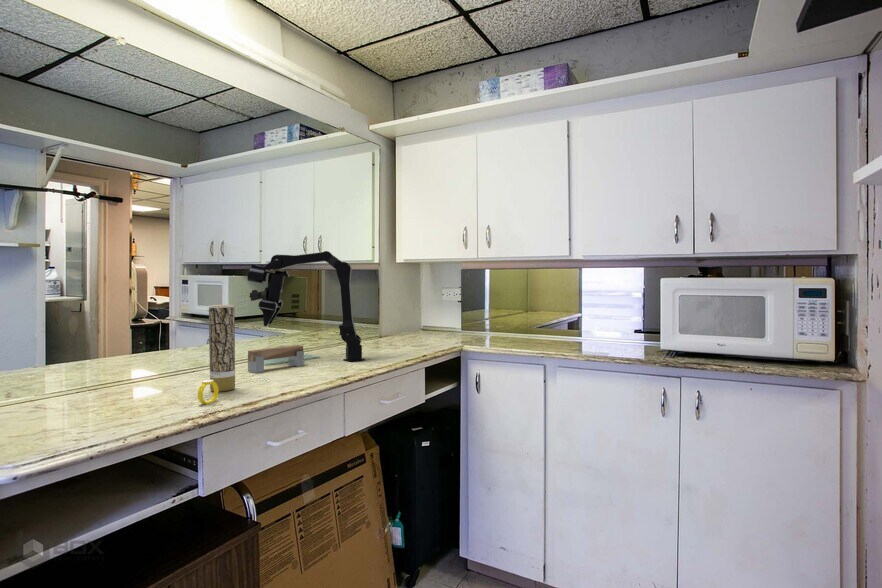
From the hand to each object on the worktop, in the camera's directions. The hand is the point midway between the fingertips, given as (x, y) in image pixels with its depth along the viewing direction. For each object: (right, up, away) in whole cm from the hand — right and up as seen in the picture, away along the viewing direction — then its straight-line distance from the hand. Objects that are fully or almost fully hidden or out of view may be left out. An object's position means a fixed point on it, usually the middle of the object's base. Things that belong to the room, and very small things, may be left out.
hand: (267, 324), depth 186 cm
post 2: (+14, -15, -7) cm, 22 cm away
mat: (+7, -15, +4) cm, 17 cm away
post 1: (+3, -15, -19) cm, 25 cm away
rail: (+8, -11, -14) cm, 19 cm away
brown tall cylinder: (+4, -16, -47) cm, 50 cm away
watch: (+7, -17, -62) cm, 64 cm away
